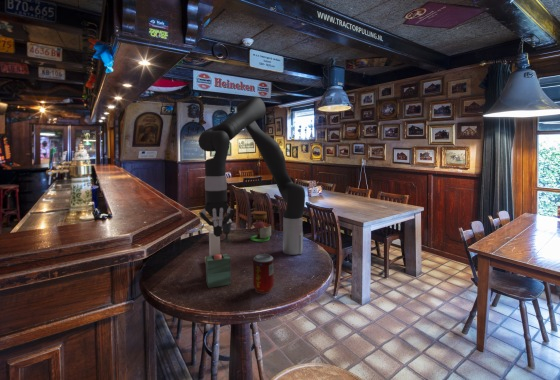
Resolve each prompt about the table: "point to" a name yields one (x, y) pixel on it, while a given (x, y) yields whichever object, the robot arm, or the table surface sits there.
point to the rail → (218, 271)
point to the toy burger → (261, 227)
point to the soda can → (263, 273)
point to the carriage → (214, 244)
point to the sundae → (227, 230)
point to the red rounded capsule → (217, 256)
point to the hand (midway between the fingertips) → (217, 236)
